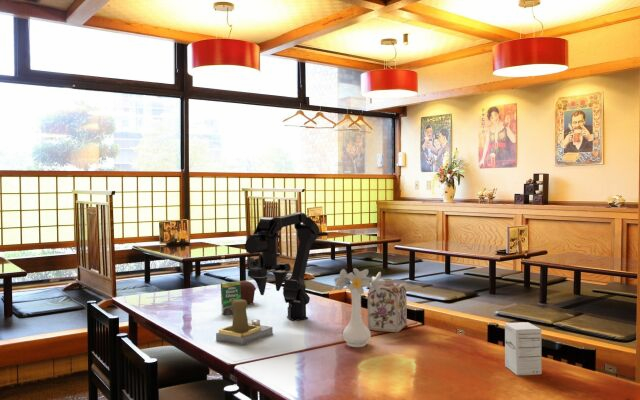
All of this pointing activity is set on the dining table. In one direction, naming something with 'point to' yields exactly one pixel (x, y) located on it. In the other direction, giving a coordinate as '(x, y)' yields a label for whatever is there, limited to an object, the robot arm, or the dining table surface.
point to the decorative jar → (387, 307)
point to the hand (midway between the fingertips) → (270, 292)
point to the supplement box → (523, 348)
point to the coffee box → (229, 296)
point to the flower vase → (357, 304)
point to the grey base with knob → (244, 334)
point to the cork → (240, 316)
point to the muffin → (247, 291)
